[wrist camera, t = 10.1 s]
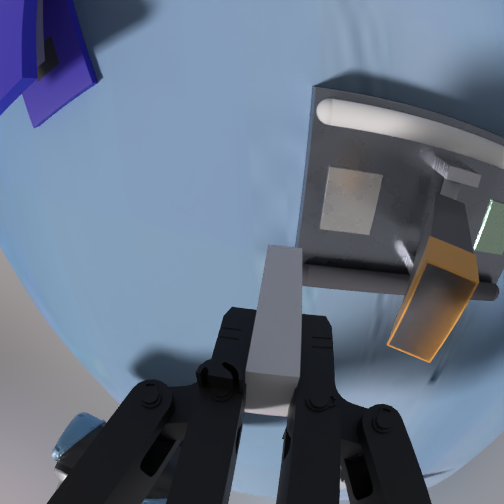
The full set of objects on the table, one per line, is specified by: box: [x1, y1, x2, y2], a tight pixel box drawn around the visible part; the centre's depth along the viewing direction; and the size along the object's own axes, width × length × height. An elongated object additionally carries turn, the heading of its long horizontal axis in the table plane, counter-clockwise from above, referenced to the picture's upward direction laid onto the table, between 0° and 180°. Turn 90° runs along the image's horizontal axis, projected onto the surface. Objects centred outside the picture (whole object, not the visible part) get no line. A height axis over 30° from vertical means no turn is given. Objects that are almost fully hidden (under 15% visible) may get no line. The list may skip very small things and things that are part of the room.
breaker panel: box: [295, 86, 504, 284], centre depth 21 cm, size 22×16×6 cm
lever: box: [387, 178, 479, 363], centre depth 16 cm, size 3×7×13 cm, turn 179°
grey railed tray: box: [302, 99, 504, 301], centre depth 20 cm, size 22×15×2 cm
